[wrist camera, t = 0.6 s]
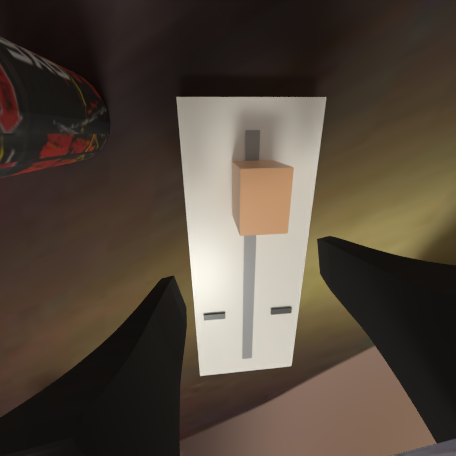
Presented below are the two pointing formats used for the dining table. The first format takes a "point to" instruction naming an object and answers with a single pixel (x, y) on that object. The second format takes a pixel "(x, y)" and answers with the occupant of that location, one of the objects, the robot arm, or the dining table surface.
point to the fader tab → (261, 196)
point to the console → (253, 244)
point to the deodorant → (46, 113)
